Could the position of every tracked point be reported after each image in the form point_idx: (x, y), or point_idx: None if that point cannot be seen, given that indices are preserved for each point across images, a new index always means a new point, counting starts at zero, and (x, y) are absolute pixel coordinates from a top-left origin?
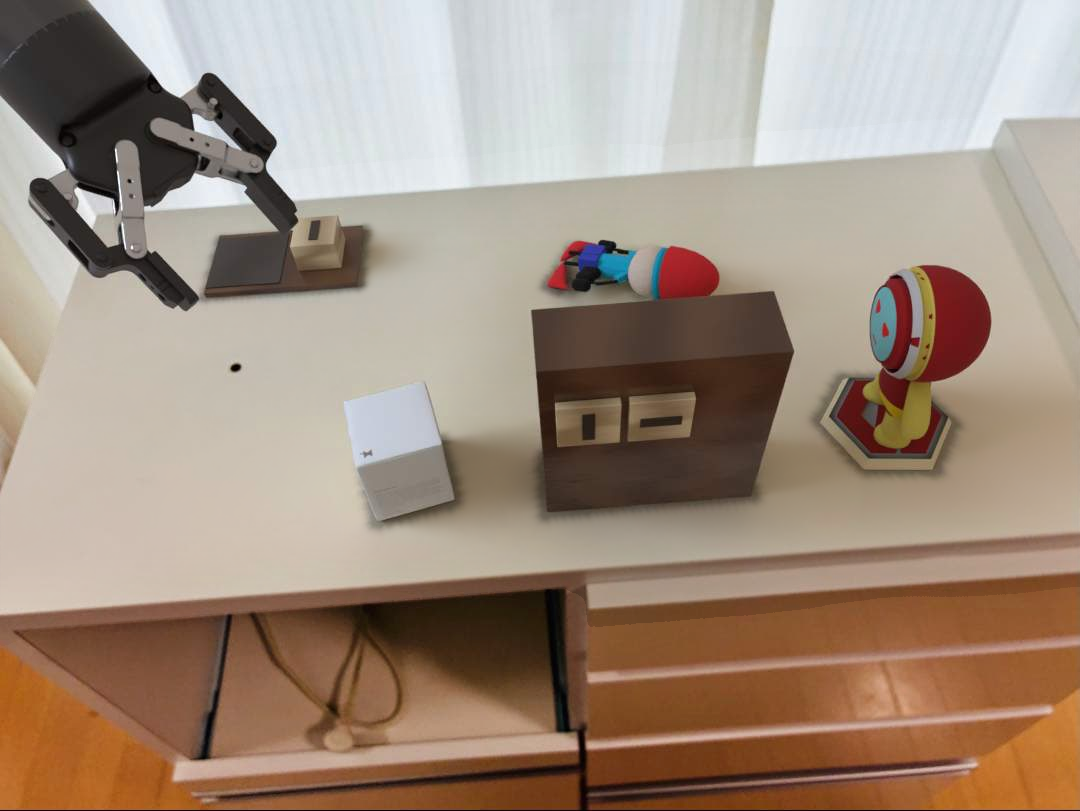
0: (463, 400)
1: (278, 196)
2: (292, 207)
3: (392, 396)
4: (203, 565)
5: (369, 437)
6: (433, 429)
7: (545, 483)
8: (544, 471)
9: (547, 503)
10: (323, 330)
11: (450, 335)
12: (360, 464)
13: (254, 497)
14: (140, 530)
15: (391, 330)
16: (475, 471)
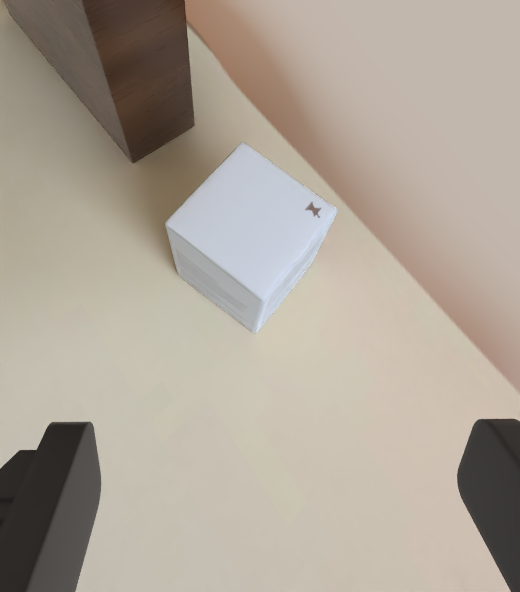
0: (107, 287)
1: (17, 497)
2: (17, 467)
3: (215, 243)
4: (475, 395)
5: (291, 224)
6: (229, 162)
7: (190, 83)
8: (189, 63)
9: (193, 112)
10: (92, 577)
11: (6, 379)
12: (331, 207)
13: (379, 416)
14: None
15: None
16: None
